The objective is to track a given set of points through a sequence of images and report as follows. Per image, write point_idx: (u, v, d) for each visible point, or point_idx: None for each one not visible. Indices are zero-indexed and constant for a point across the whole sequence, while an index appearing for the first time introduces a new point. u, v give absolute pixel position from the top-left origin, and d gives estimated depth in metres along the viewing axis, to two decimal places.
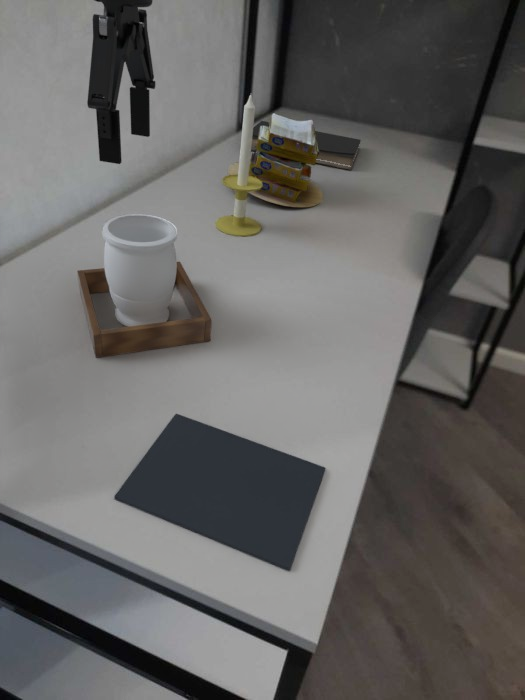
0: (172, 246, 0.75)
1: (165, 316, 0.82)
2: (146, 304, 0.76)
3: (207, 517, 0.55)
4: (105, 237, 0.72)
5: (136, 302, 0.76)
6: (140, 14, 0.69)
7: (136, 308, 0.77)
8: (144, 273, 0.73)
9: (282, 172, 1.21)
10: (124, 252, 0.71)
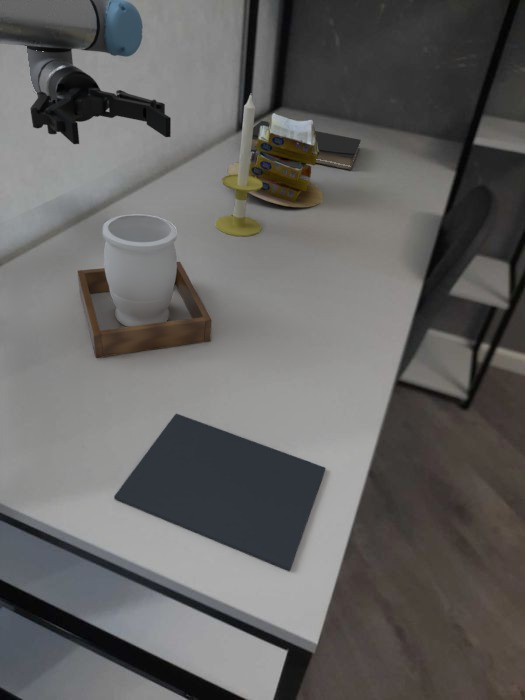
0: (172, 246, 0.75)
1: (165, 316, 0.82)
2: (146, 304, 0.76)
3: (207, 517, 0.55)
4: (105, 237, 0.72)
5: (136, 302, 0.76)
6: None
7: (136, 308, 0.77)
8: (144, 273, 0.73)
9: (282, 172, 1.21)
10: (124, 252, 0.71)
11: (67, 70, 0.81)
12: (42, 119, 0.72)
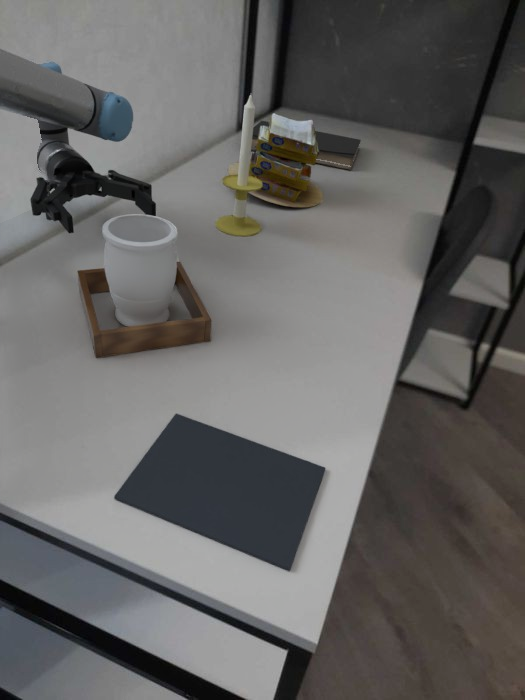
0: (172, 246, 0.75)
1: (165, 316, 0.82)
2: (146, 304, 0.76)
3: (207, 517, 0.55)
4: (105, 237, 0.72)
5: (136, 302, 0.76)
6: None
7: (136, 308, 0.77)
8: (144, 273, 0.73)
9: (282, 172, 1.21)
10: (124, 252, 0.71)
11: (63, 155, 0.90)
12: (41, 208, 0.81)
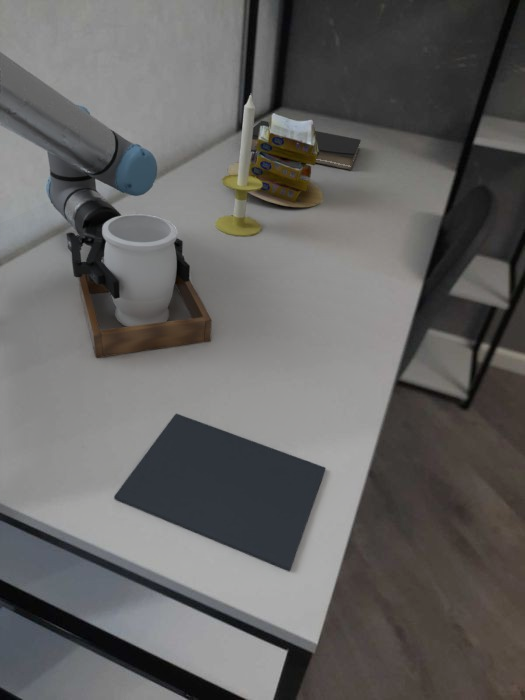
0: (172, 246, 0.75)
1: (165, 316, 0.82)
2: (146, 304, 0.76)
3: (207, 517, 0.55)
4: (105, 237, 0.72)
5: (136, 302, 0.76)
6: None
7: (136, 308, 0.77)
8: (144, 273, 0.73)
9: (282, 172, 1.21)
10: (124, 252, 0.71)
11: (93, 205, 0.85)
12: (83, 270, 0.76)
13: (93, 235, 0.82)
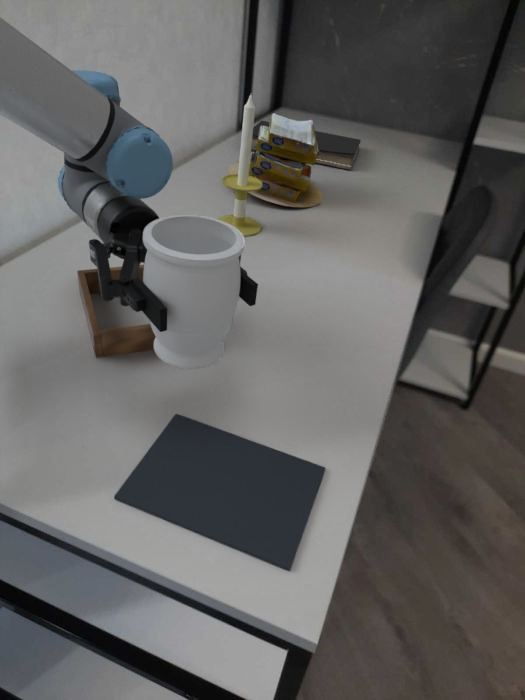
0: (237, 259, 0.55)
1: (221, 350, 0.62)
2: (201, 337, 0.56)
3: (207, 517, 0.55)
4: (149, 247, 0.51)
5: (187, 335, 0.56)
6: None
7: (187, 342, 0.56)
8: (201, 297, 0.53)
9: (282, 172, 1.21)
10: (175, 269, 0.51)
11: (122, 204, 0.64)
12: (115, 291, 0.55)
13: (124, 243, 0.62)
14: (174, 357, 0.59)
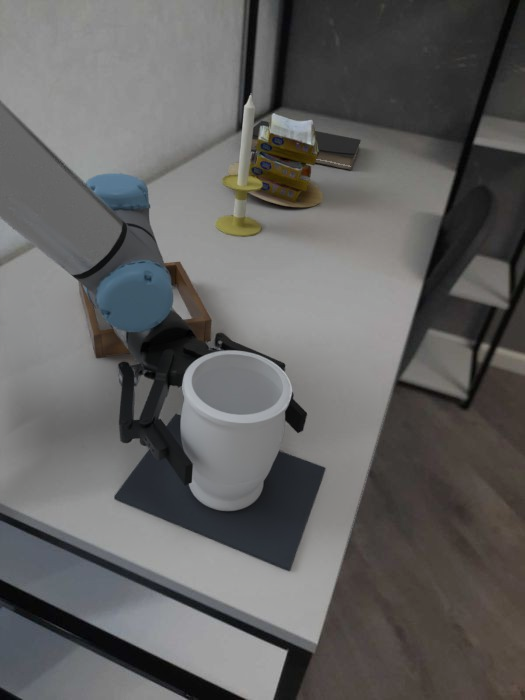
0: None
1: (260, 486, 0.58)
2: (242, 486, 0.52)
3: (207, 517, 0.55)
4: (190, 404, 0.47)
5: (228, 484, 0.52)
6: None
7: (227, 491, 0.53)
8: (246, 454, 0.49)
9: (282, 172, 1.21)
10: (219, 427, 0.47)
11: None
12: (135, 434, 0.51)
13: (157, 367, 0.58)
14: (212, 499, 0.55)
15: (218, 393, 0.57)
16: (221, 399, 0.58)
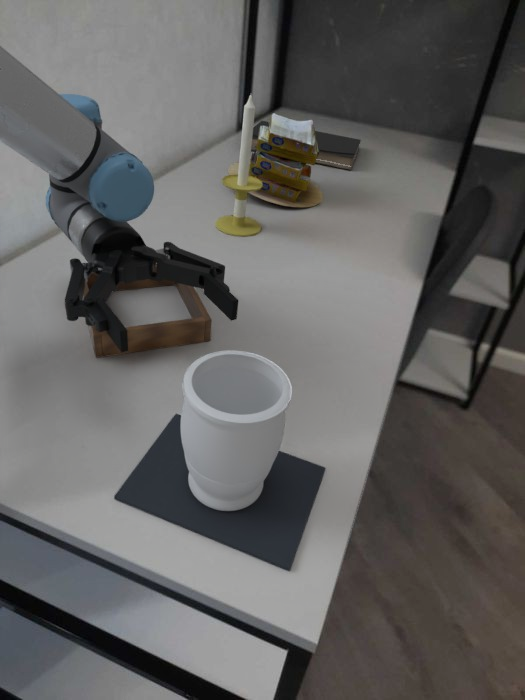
0: None
1: (260, 486, 0.58)
2: (242, 486, 0.52)
3: (207, 517, 0.55)
4: (190, 403, 0.47)
5: (228, 484, 0.52)
6: None
7: (227, 491, 0.53)
8: (246, 454, 0.49)
9: (282, 172, 1.21)
10: (219, 427, 0.47)
11: (105, 225, 0.66)
12: (79, 311, 0.57)
13: None
14: (212, 499, 0.55)
15: (218, 393, 0.57)
16: (221, 399, 0.58)
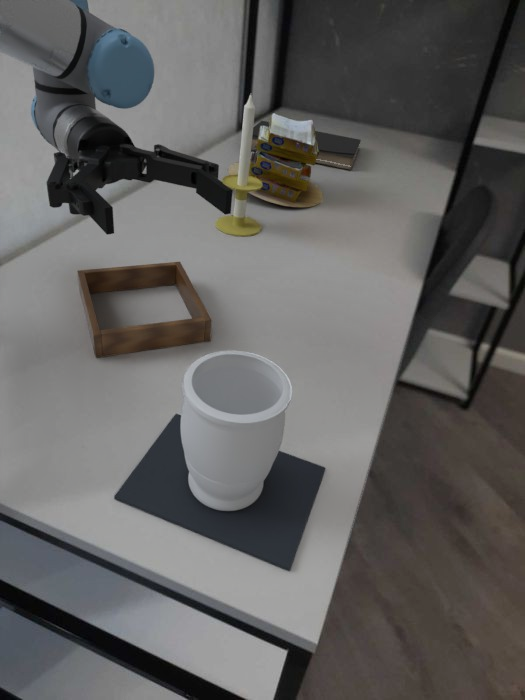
0: None
1: (260, 486, 0.58)
2: (242, 486, 0.52)
3: (207, 517, 0.55)
4: (190, 403, 0.47)
5: (228, 484, 0.52)
6: None
7: (227, 491, 0.53)
8: (246, 454, 0.49)
9: (282, 172, 1.21)
10: (219, 427, 0.47)
11: (92, 121, 0.62)
12: (62, 196, 0.53)
13: None
14: (212, 499, 0.55)
15: (218, 393, 0.57)
16: (221, 399, 0.58)
